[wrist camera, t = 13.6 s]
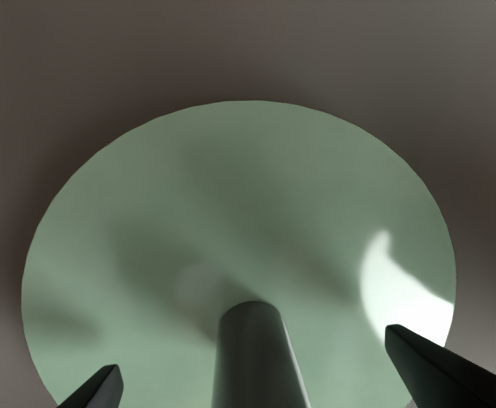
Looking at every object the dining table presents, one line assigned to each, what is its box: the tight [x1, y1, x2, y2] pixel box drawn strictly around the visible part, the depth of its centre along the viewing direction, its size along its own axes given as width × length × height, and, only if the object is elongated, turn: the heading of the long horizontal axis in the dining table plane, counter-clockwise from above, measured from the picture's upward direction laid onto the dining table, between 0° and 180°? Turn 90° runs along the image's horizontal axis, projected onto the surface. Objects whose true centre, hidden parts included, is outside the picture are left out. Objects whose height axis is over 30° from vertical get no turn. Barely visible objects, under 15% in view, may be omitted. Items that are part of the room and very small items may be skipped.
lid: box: [21, 100, 457, 408], centre depth 7 cm, size 16×16×6 cm
